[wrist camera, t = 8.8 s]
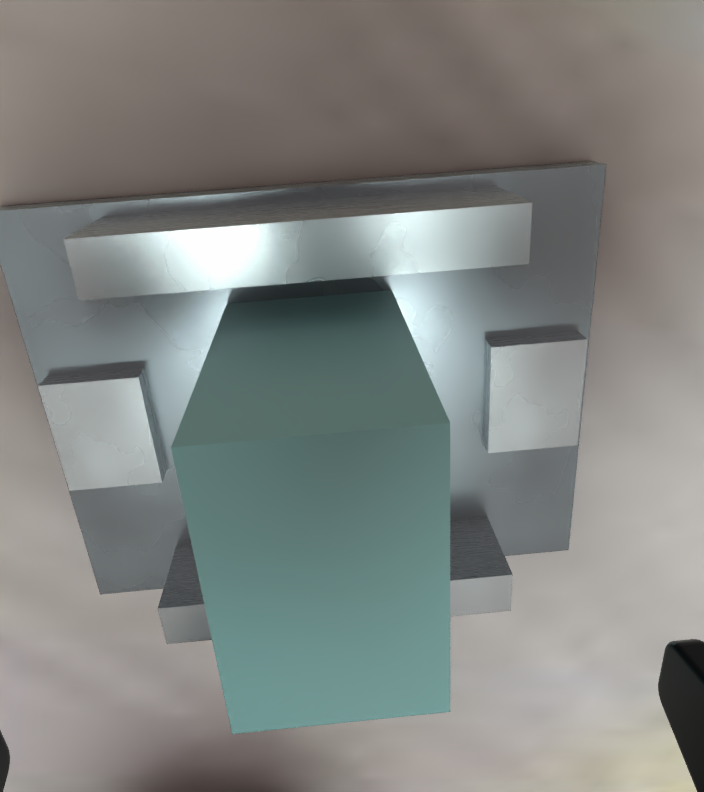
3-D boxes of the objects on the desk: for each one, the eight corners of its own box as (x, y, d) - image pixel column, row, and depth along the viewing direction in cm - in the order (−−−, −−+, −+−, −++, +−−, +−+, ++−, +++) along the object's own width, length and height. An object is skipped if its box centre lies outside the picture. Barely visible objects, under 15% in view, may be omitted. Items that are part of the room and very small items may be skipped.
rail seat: (558, 533, 20) (602, 610, 17) (108, 575, 20) (72, 661, 17) (592, 160, 15) (660, 176, 12) (0, 206, 15) (-77, 233, 12)
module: (401, 496, 18) (453, 711, 12) (256, 509, 18) (229, 734, 12) (393, 290, 16) (453, 422, 9) (224, 303, 15) (167, 447, 9)
